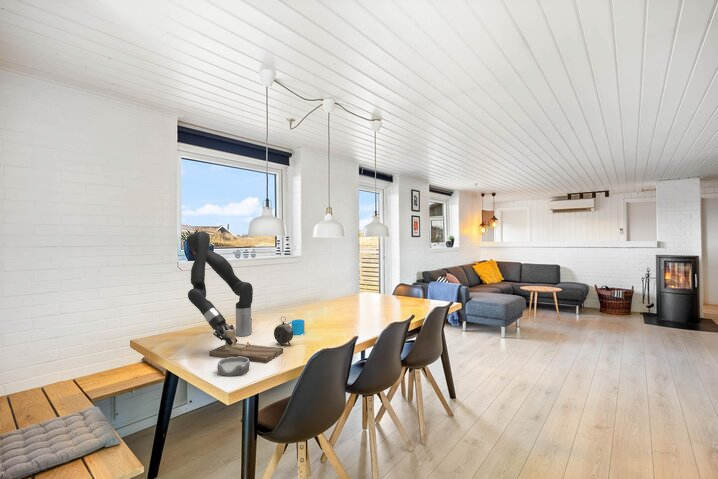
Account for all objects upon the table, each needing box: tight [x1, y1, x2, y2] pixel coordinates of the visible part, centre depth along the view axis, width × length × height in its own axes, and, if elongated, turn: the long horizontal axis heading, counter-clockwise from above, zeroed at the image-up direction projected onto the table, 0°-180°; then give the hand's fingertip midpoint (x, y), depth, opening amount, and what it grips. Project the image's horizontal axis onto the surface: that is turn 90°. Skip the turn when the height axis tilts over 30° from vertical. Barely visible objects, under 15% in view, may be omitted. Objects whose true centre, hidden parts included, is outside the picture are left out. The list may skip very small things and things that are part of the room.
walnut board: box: [208, 342, 284, 364], centre depth 182 cm, size 16×34×2 cm, turn 73°
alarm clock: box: [273, 316, 294, 347], centre depth 198 cm, size 11×5×16 cm, turn 65°
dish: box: [217, 356, 251, 377], centre depth 159 cm, size 14×14×5 cm
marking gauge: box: [224, 329, 251, 352], centre depth 185 cm, size 10×10×10 cm
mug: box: [287, 319, 305, 336], centre depth 222 cm, size 12×8×8 cm
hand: (233, 343), depth 182 cm, fingers closed on marking gauge, 3 cm apart
